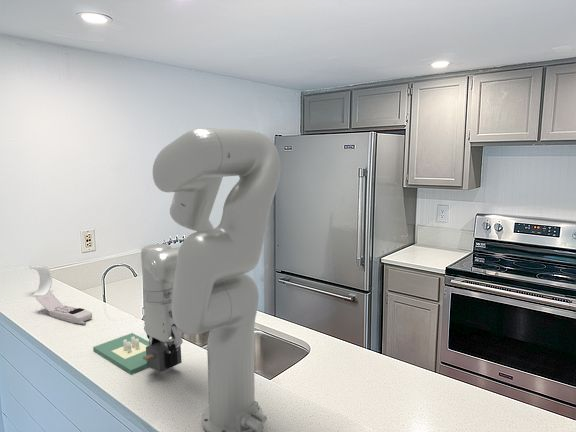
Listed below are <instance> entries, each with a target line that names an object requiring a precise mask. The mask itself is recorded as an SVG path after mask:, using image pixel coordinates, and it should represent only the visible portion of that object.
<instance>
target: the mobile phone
mask: <svg viewBox="0 0 576 432" xmlns="http://www.w3.org/2000/svg"><path fill="white" fill-rule="evenodd" d="M35 299H36V301H37V302H38V303H40V304H41V305H42V307H43V308H45V310H46V311H48V312H49V315H50V317H51V318H54V319H58V320H61V321H65V322H68V323H72V324H79V325H84V326H86V325H87V323H86V321H88V320H91V319H93V312H92V311H90V310H88V309H85V308H82V307H74V306H69V305H66V304H63V303H61V301H60V300H59V299H58V298H57V297H56V295H55V294H54V293H53V292H52V293H48V294H45V295H42V296H39V297H35Z"/></svg>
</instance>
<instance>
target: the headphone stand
mask: <svg viewBox="0 0 576 432" xmlns="http://www.w3.org/2000/svg"><path fill="white" fill-rule="evenodd" d="M29 269H30V270H34V271H35V270H36V272H37V274H38V275H39V285H38V287H37V290H36V291H35V292H34V293H33V294H32V295H31V296H32V298H36V297H39V296H42V295H45V294H48V293H52V294H53V291H52V290H51V288H52V284H53V275H52V271H51V270H50V268H48V266H37V265H36V266H35V265H34V266H29Z"/></svg>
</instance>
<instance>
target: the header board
mask: <svg viewBox="0 0 576 432" xmlns="http://www.w3.org/2000/svg"><path fill="white" fill-rule="evenodd" d="M147 346H150V345H149V340H147V339H146V338H143V337H141V336H139V335H138V334H135V333H133V332H131V333H129V334H126V335H122V336H120V337H118V338H114V339H111V340H109V341H106V342H104V343H101V344H98V345H95V346H93V347H92V348H93V350H92V351H93V352H94V353H96V354H98V355H99V356H100V357H102V358H103V359H106V360H107V361H109V362H110V363H111V364H113V365H115V366H116V367H118V368H120V369H122V370H123V371H125V372H126V373H128V374H130V375H134V374H137V373H139V372H141V371H143V370H145V369H147V368H149V367H148V366H147V361H146V360H144V359H143V357H144V356H146V347H147Z"/></svg>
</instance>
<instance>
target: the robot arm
mask: <svg viewBox="0 0 576 432" xmlns="http://www.w3.org/2000/svg"><path fill="white" fill-rule="evenodd" d="M153 161H154V162H153V165H152V179H153V182H154V185H155V186H156V187H157V189H158V190H160V191H161V192H164V193H174V194H173V197H172V201H171V203H170V204H171V205H170V207H169V215H170V218H172V220H173V221H174V222H175V223H176V224H178V225H179V226H181V227H183V228H185V229H188V230H190V231H191V230H192V231H195V232H193V233H190V234H189V235H188V236H186V237H185V239H183V241H182V242H181V244H180V246H177V247H172V246H171V245H169V244H166V243H153V244H148V245H146V246H143V248H142V249H141V251H140V255H141V256H140V258H141V271H142V273H141V274H142V287H143V300H144V307H143V308H144V309H143V318H144V319H143V321H144V327H143V330H144V332H145V334H146V338H147V339H148V341H149V345H152V344H155V343H157V342H160V341H162V342H164V345H165V349H166V353H165V365H166V368H167V370H169V369H171V368H173V367H176V366H178V365H179V364H178V360H177V350H178V348H179V347H180V345H182V344H183V343H184V342H183V338H182V337H183V334H184V335H186V336H187V335H188V336H196V335H197V336H198V335H200V334H203V333H206V332H209V333H208V338H207V345H206V346H207V347H206V349H207V351H206V352H207V353H206V354H207V379H208V380H207V381H208V382H207V383H208V406H207V407H206V408H205V410H204V411H203V413H202V415H201V424H202V427H203V429H204V430H205V432H262V431H263V429H264V423H265V422H266V421H267V416H266V415H265V414H263V410H262V408H261V406H260V405H259V402H258V401H256V400H255V399H256V398H255V390H256V387H255V327H256V326H255V324H256V316H257V312H258V308H259V300H260V299H259V296H260V295H259V289H258V286H257V284H256V282H255V281H254V279H253V278H252V277H251V276H250V275H248V274H247V273H250V272H251V271H253V270H254V269H255V268H256V267H257V265H258V264H259V261H260V257H261V254H262V249H263V244H264V240H265V235H266V230H267V225H268V219H269V216H270V215H269V214H270V211H271V207H272V203H273V200H274V198H275V194H276V192H277V189H278V186H279V182H280V179H281V178H280V177H281V170H282V169H281V167H282V166H281V158H280V154H279V151H278V148H277V146H276V144H275V143H274V142H273V141H272V139H270V138H269V136H267V135H265V134H263V133H261V132H259V131H255V130H249V129H239V128H238V129H235V128H210V127H209V128H208V127H207V128H205V127H204V128H203V127H202V128H201V127H200V128H193V129H190V130H188V131H186V132H184V133H183V134H182V135H180V136H179V137H178V138H176V139H174V140H173V141H171V142H170V143H169V144H167V145H165V146H164V147H163V148H162V149H161V150H160V151H159V152H158V154H157V155H156V157H155V159H154V160H153ZM235 176H236V177H237V176H238V177H239V179H238V181H237V182H236V184H234V186H233V187H232V188H231V189H230V192H229V193H228V195H227V197H226V198H225V201H224V204H223V207H222V215H221V219H220V222H219V224H218V226H216V227H214V226H213V224H212V222H211V220H210V216H211V212H212V211H213V208H214V205H215V202H216V199H217V196H218V193H219V190H220V186H221V183H222V181H223V178H224V177H235ZM169 342H172V345H171V346H169ZM177 364H178V365H177Z"/></svg>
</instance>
